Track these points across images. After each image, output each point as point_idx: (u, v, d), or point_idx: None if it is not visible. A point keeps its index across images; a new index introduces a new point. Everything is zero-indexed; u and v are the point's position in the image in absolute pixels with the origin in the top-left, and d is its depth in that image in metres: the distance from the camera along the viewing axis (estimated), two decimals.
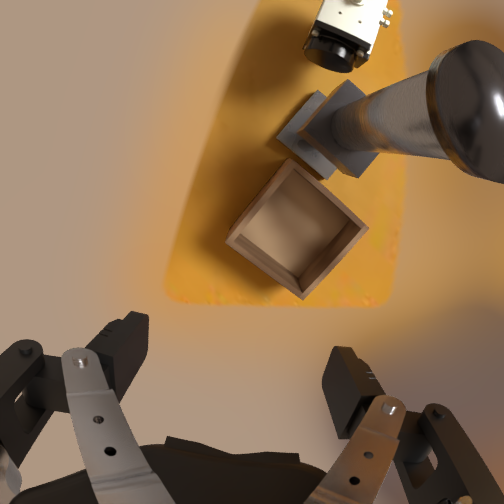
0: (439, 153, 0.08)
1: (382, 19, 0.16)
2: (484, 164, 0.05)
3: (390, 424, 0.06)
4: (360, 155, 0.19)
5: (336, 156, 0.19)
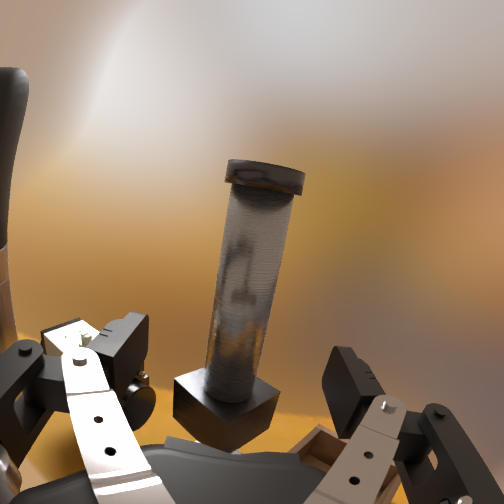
0: (287, 218, 0.15)
1: None
2: None
3: (390, 424, 0.06)
4: (256, 387, 0.19)
5: (258, 403, 0.17)
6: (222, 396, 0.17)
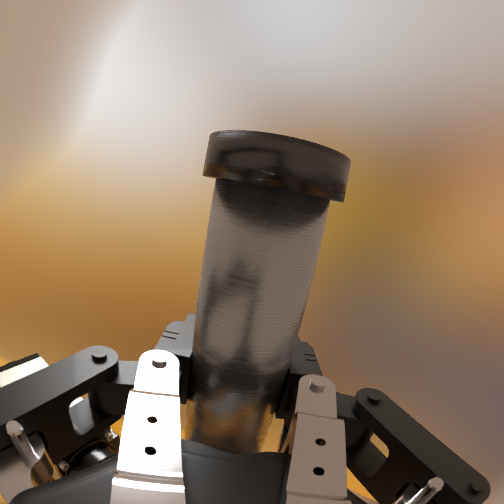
0: (319, 244, 0.08)
1: None
2: None
3: (311, 402, 0.07)
4: None
5: None
6: None
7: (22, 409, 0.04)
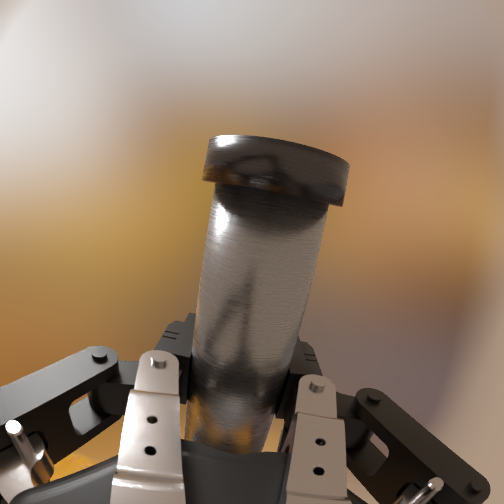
0: (318, 248, 0.08)
1: None
2: None
3: (311, 402, 0.07)
4: None
5: None
6: None
7: (22, 409, 0.04)
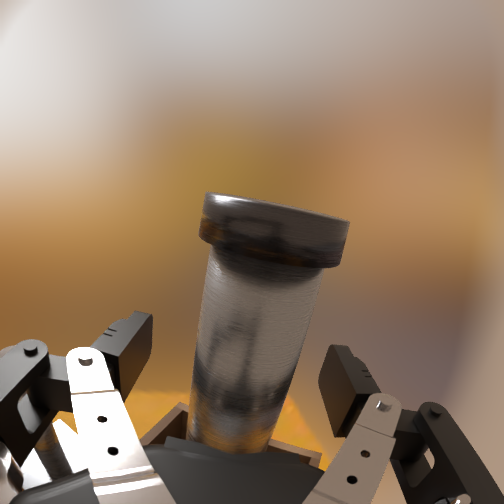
0: (314, 304, 0.08)
1: None
2: (340, 219, 0.08)
3: (385, 422, 0.07)
4: None
5: None
6: None
7: None
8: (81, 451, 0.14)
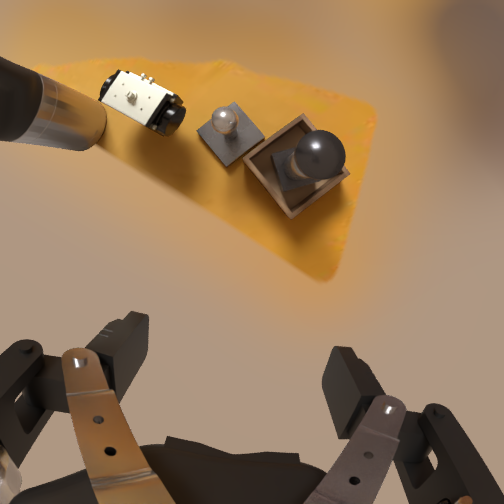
0: None
1: (148, 81, 0.29)
2: (332, 173, 0.23)
3: (390, 424, 0.06)
4: None
5: (305, 184, 0.37)
6: (288, 176, 0.36)
7: None
8: (244, 122, 0.39)
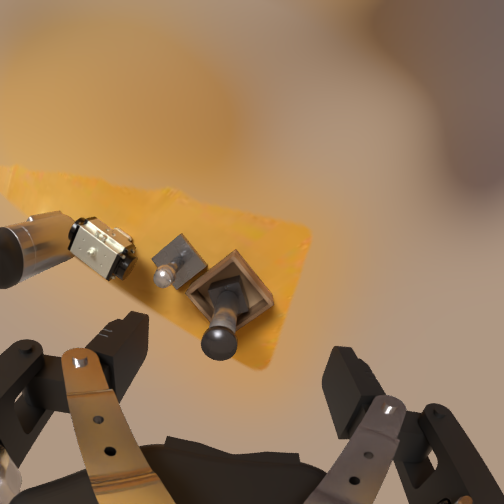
0: None
1: (102, 240, 0.39)
2: (227, 357, 0.33)
3: (390, 424, 0.06)
4: (240, 305, 0.47)
5: None
6: None
7: None
8: (189, 254, 0.49)
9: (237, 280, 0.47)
